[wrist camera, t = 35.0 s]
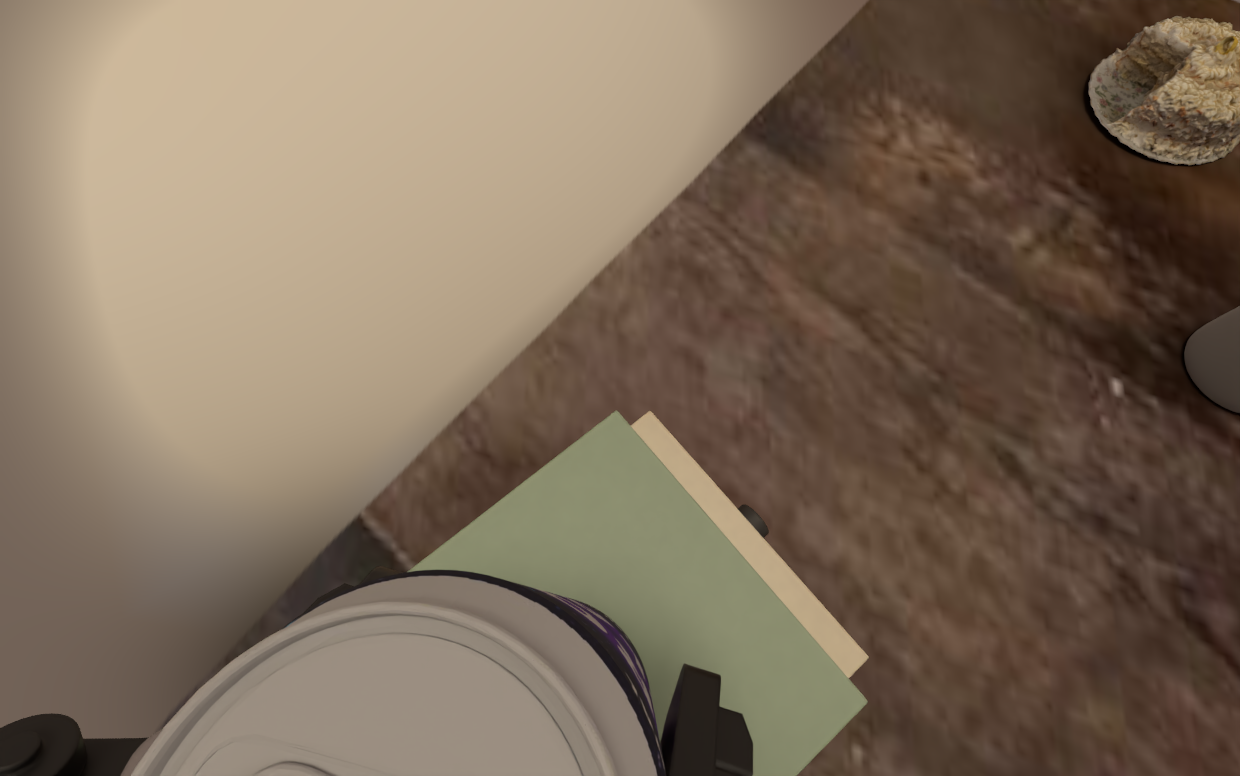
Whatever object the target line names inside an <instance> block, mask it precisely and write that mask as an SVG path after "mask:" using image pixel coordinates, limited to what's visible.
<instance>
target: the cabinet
mask: <svg viewBox="0 0 1240 776" xmlns="http://www.w3.org/2000/svg"><path fill="white" fill-rule="evenodd" d="M421 570H458V571H467V572H474V573H479V574H485V575H489V576H493V577H496V578H500V579H503V580H507V581H510V582H514V583H518V584H521V585H525V586H528V587H532V588H535V589H539V590H542V591H546V592H549V593H553V594H556V595H560V596H564V597H567V598H571V599H574V600H578V601H581V602H583V603H586V604H588V605H590V606H592V607H594V608H596V609H598V610H599V611H601V612H602V613H604V614H605V615H607V616H608V617H609V618H610V619H611V620H613V621H614V622H615V623H616V624H617V625H618V626H619V627H620V628H621V629H622V630H623V632H624V633H625V634H626V635H627V637H628V638H629V639H630V641H631V642H632V644H633V645H634V647H635V649H636V651H637V652H638V654H639V656H640V659H641V661H642V663H643V666H644V668H645V671H646V675H647V678H648V682H649V687H650V692H651V697H652V702H653V708H654V713H655V718H656V724H657V729H658V734H659V740H660V742H661V737H662V732H663V728H664V724H665V720H666V716H667V713H668V710H669V706H670V703H671V700H672V697H673V694H674V691H675V688H676V685H677V681H678V678H679V675H680V672H681V669H682V666H683V664H684V663H685V664H688V665H691V666H694V667H698V668H701V669H704V670H707V671H710V672H713V673H716V674H720V675H721V691H720V705H719V706H720V707H723V708H726V709H729V710H732V711H735V712H738V713H741V714H743V717H744V720H745V722H746V725H747V728H748V731H749V733H750V736H751V739H752V741H753V775H752V776H797V775H798V774H799V773H800V772H801V771H802V770H803V769H804V768H805V767H806V766H807V765H808V764H809V762H810V761H811V760H812V759H813V758H814V757H815V756H816V755H817V754H818V753H819V752H820V751H821V750H822V749H823V748H824V747H825V746H826V745H827V744H828V743H829V742H830V741H831V740H832V739H833V738H834V737H835V736H836V735H837V734H838V733H839V732H840V731H841V730H842V729H843V728H844V726H845V725H846V724H847V723H848V722H849V721H850V720H851V719H852V718H853V717H854V716H855V715H856V714H857V713H858V712H859V711H860V710H861V709H862V708H863V707H864V706H865V705H866V704H867V702H868V701H867V699H866V698H865V697H864V696H863V695H862V694H861V692H860V691H859V690H858V689H857V688H856V687H855V685H854V684H853V683H852V682H851V681H850V680H849V678H848V677H847V676H846V675H845V674H844V673H843V672H842V670H841V669H840V668H839V667H838V666H837V665H836V663H835V662H834V661H833V660H832V659H831V658H830V656H829V655H828V654H827V653H826V652H825V651H824V649H823V648H822V647H821V646H820V645H819V644H818V643H817V641H816V640H815V639H814V638H813V637H812V636H811V634H810V633H809V632H808V631H807V630H806V629H805V627H804V626H803V625H802V624H801V623H800V622H799V621H798V619H797V618H796V617H795V616H794V615H793V614H792V612H791V611H790V610H789V609H788V608H787V607H786V605H785V604H784V603H783V602H782V601H781V600H780V599H779V597H778V596H777V595H776V594H775V593H774V592H773V590H772V589H771V588H770V587H769V586H768V585H767V583H766V582H765V581H764V580H763V579H762V578H761V576H760V575H759V574H758V573H757V572H756V571H755V570H754V568H753V567H752V566H751V565H750V564H749V563H748V561H747V560H746V559H745V558H744V557H743V556H742V554H741V553H740V552H739V551H738V550H737V549H736V548H735V546H734V545H733V544H732V543H731V542H730V541H729V539H728V538H727V537H726V536H725V535H724V534H723V532H722V531H721V530H720V529H719V528H718V527H717V526H716V524H715V523H714V522H713V521H712V520H711V519H710V517H709V516H708V515H707V514H706V513H705V512H704V510H703V509H702V508H701V507H700V506H699V505H698V503H697V502H696V501H695V500H694V499H693V498H692V497H691V495H690V494H689V493H688V492H687V491H686V490H685V488H684V487H683V486H682V485H681V484H680V483H679V481H678V480H677V479H676V478H675V477H674V476H673V475H672V473H671V472H670V471H669V470H668V469H667V468H666V466H665V465H664V464H663V463H662V462H661V461H660V459H659V458H658V457H657V456H656V455H655V454H654V452H653V451H652V450H651V449H650V448H649V447H648V446H647V444H646V443H645V442H644V441H643V440H642V439H641V437H640V436H639V435H638V434H637V433H636V432H635V430H634V429H633V428H632V427H631V426H630V425H629V424H628V422H627V421H626V420H625V419H624V418H623V417H622V415H621V414H620V413H619V412H618V411H615V412H613V413H612V414H611V415H609V416H608V417H607V418H606V419H604V420H603V421H602V422H600V423H599V424H598V425H596V426H595V427H594V428H593V429H591V430H590V431H589V432H587V433H586V434H585V435H584V436H582V437H581V438H580V439H578V440H577V441H576V442H575V443H573V444H572V445H571V446H569V447H568V448H567V449H565V450H564V451H563V452H562V453H560V454H559V455H558V456H556V457H555V458H554V459H553V460H551V461H550V462H549V463H547V464H546V465H545V466H544V467H542V468H541V469H540V470H538V471H537V472H536V473H535V474H533V475H532V476H531V477H529V478H528V479H527V480H525V481H524V482H523V483H522V484H520V485H519V486H518V487H516V488H515V489H514V490H513V491H511V492H510V493H509V494H507V495H506V496H505V497H504V498H502V499H501V500H500V501H498V502H497V503H496V504H494V505H493V506H492V507H491V508H489V509H488V510H487V511H485V512H484V513H483V514H482V515H480V516H479V517H478V518H476V519H475V520H474V521H473V522H471V523H470V524H469V525H467V526H466V527H465V528H463V529H462V530H461V531H460V532H458V533H457V534H456V535H454V536H453V537H452V538H451V539H449V540H448V541H447V542H445V543H444V544H443V545H442V546H440V547H439V548H438V549H436V550H435V551H434V552H433V553H431V554H430V555H429V556H427V557H426V558H425V559H423V560H422V561H421V562H420V563H418V564H417V565H416V566H414V567H413V568H412V569H411V570H409V571H408V572H412V571H421Z"/></svg>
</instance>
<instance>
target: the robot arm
mask: <svg viewBox="0 0 1240 776" xmlns="http://www.w3.org/2000/svg"><path fill="white" fill-rule="evenodd" d="M399 573H402V572H399V571H395V570H392V569H389V568H386V567H383V566H378V567H376V568H375V569H373V570H372V571H371V572H370V573H369V574H368V575H367V577H366V578H365V579H364V580H363V581H362V582H361V583H360V584H362V583H365V582H368V581H371V580H375V579H378V578H381V577H385V576H390V575H394V574H399ZM360 584H359V585H360ZM352 587H354V586H351V585H347V584H343V585H341V586H339V587H337V588H336V589H334V590H332V591H330V592H329V593H327V594H325V595H323V596H321V597H320V598H318V599H317V600H316V601H315V602H314V603H313V604H312V605H311V606H310V607H309V608H308V609H307V610H306V611H308V610H309V609H311V608H312V607H314V606H316V605H317V604H319V603H321V602H323V601H325V600H326V599H328V598H330V597H332V596H334V595H336V594H338V593H341V592H343V591H345V590H347V589H349V588H352ZM306 611H305V612H306ZM305 612H304V613H305ZM720 691H721V675H720V674H716V673H713V672H710V671H707V670H704V669H701V668H698V667H694V666H691V665H688V664H685V663H684V664H683V666H682V669H681V672H680V675H679V678H678V681H677V685H676V688H675V691H674V694H673V697H672V700H671V703H670V706H669V710H668V713H667V716H666V720H665V724H664V728H663V732H662V737H661V742H660V745H661V750H662V756H663V761H664V766H665V772H666V776H752V775H753V741H752V739H751V736H750V733H749V731H748V728H747V725H746V722H745V720H744V717H743V714H741V713H738V712H735V711H732V710H729V709H726V708H723V707H720V706H719V705H720ZM162 730H163V728H162V729H160V730H159V731H157V732H156V733H154V734H153V735H152V736H150V737H148V738H126V739H125V738H124V739H83V738H82V735H81V731H80V728H79V726H78V724H77V723H76V722H75V721H74V720H73V719H72V718H70V717H68V716H65V715H61V714H41V715H35V716H31V717H27V718H24V719H21V720H18V721H15V722H13V723H10V724H8V725H6V726H4V727H2V728H0V776H131V774H132V773H133V771H134V769H135V767H136V766H137V764H138V763H139V762H140V760H141V759H142V757H143V756H144V755H145V753H146V752H147V751H148V749H149V748H150V746H151V745H152V744H153V742H154V741H155V739H156V738H157V737H158V735H159V734H160V733H161V731H162Z"/></svg>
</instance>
